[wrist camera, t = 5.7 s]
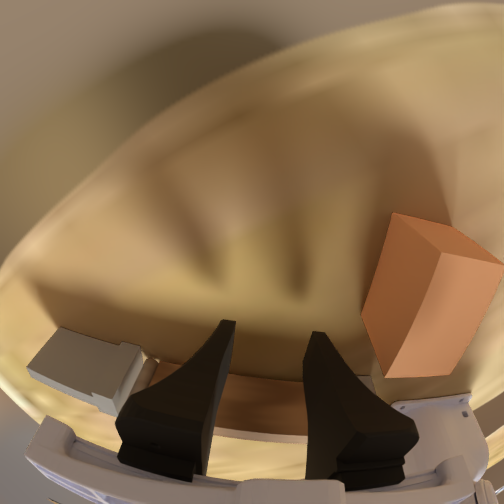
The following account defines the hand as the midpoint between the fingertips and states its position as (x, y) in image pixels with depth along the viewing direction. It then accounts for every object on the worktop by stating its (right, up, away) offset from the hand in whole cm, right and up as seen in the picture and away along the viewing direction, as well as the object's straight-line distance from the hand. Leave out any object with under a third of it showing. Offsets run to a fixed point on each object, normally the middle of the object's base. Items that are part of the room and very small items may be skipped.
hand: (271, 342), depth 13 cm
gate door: (-1, -4, +4) cm, 6 cm away
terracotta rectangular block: (+7, +3, +1) cm, 8 cm away
